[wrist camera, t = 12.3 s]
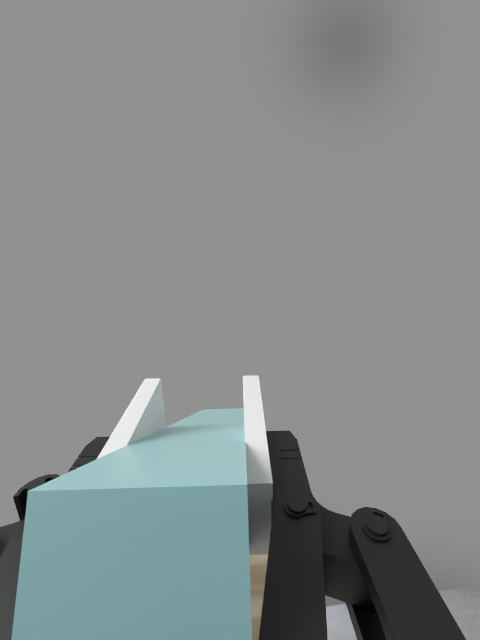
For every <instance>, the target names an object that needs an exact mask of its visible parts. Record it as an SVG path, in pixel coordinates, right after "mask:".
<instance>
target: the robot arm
mask: <svg viewBox="0 0 480 640" xmlns="http://www.w3.org/2000/svg"><path fill="white" fill-rule="evenodd" d="M243 397H244V433H245V443H246V468H247V494H248V525H249V555H258V554H268V560H267V569H266V578H265V587H264V596H263V605H262V614H261V623H260V632H259V640H327V623H326V605H325V595H327V596H329V597H332V598H335V599H338V600H341V601H344V602H346V605H347V608H348V611H349V615H350V618H351V621H352V624H353V627H354V630H355V633H356V637H357V640H466V639H465V637H464V635H463V634H462V632H461V630H460V628H459V627H458V625H457V623H456V622H455V620H454V618H453V616H452V615H451V613H450V611H449V609H448V608H447V606H446V604H445V603H444V601H443V599H442V597H441V596H440V594H439V592H438V590H437V589H436V587H435V585H434V584H433V582H432V580H431V578H430V577H429V575H428V573H427V571H426V570H425V568H424V566H423V565H422V563H421V561H420V560H419V558H418V556H417V554H416V552H415V551H414V549H413V548H412V546H411V544H410V542H409V540H408V539H407V537H406V535H405V533H404V532H403V530H402V528H401V527H400V525H399V524H398V523H397V522H396V520H395V519H394V518H392V517H391V516H389V515H388V514H387V513H386V512H383V511H381V510H379V509H376V508H369V507H364V508H360V509H357V510H356V511H355V512H354V513H353V514H352V516H351V517H349V516H345V515H341V514H338V513H335V512H332V511H329V510H327V509H326V508H324V507H322V506H321V505H320V504H319V503H318V502H317V501H316V500H315V498H314V497H313V495H312V493H311V490H310V486H309V483H308V479H307V475H306V472H305V468H304V464H303V460H302V457H301V453H300V450H299V446H298V442H297V439H296V438H295V437H294V436H293V435H292V433H291V432H290V431H266V429H265V421H264V414H263V407H262V399H261V391H260V383H259V376H243ZM164 428H166V420H165V412H164V404H163V395H162V386H161V379H145V380H144V382H143V383H142V385H141V386H140V388H139V390H138V392H137V393H136V395H135V396H134V398H133V400H132V401H131V403H130V405H129V407H128V408H127V410H126V411H125V413H124V415H123V416H122V418H121V419H120V421H119V423H118V424H117V426H116V428H115V429H114V431H113V433H112V434H111V436H110V437H96V438H95V439H94V440H93V441H92V442H90V443H89V444H88V445H86V446H85V448H84V449H83V451H82V452H81V454H80V455H79V458H78V459H77V460H76V461H75V462H74V464H73V466H72V467H71V468H70V470H69V471H68V472H70V471H72V470H75V469H77V468H79V467H81V466H83V465H85V464H88V463H90V462H92V461H94V460H96V459H98V458H101V457H103V456H105V455H107V454H109V453H111V452H113V451H116V450H118V449H120V448H122V447H124V446H127V445H129V444H131V443H134V442H136V441H138V440H140V439H142V438H144V437H146V436H149V435H151V434H153V433H155V432H157V431H159V430H161V429H164ZM68 472H67V473H68ZM59 476H60V475H57V474H54V475H45V476H42V477H39V478H36V479H34V480H32V481H31V482H28V483H27V484H26V485H24V486H23V487H22V488H20V489H19V490H18V492H17V493H16V494H15V495H14V497H13V498H14V502H15V505H16V508H17V511H18V514H19V518H20V521H19V522H16V523H13V524H10V525H6V526H3V527H0V640H11V638H12V629H13V620H14V611H15V602H16V594H17V585H18V576H19V567H20V558H21V549H22V540H23V531H24V522H25V514H26V505H27V496H28V491H29V490H31V489H34V488H36V487H38V486H40V485H42V484H44V483H47V482H49V481H51V480H53V479H55V478H57V477H59Z"/></svg>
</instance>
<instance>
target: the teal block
mask: <svg viewBox="0 0 480 640" xmlns="http://www.w3.org/2000/svg"><path fill="white" fill-rule="evenodd" d="M11 640H252V619H251V588H250V556H249V525H248V494H247V468H246V443H245V433H244V408H241V409H209V410H208V409H207V410H202V411H200V412H198V413H196V414H193V415H191V416H189V417H187V418H185V419H183V420H180V421H178V422H176V423H174V424H172V425H170V426H168V427H166V428H164V429H161V430H159V431H157V432H155V433H153V434H151V435H149V436H146V437H144V438H142V439H140V440H138V441H136V442H134V443H131V444H129V445H127V446H124V447H122V448H120V449H118V450H116V451H113V452H111V453H109V454H107V455H105V456H103V457H101V458H98V459H96V460H94V461H92V462H90V463H88V464H85V465H83V466H81V467H79V468H77V469H75V470H72V471H70V472H68V473H66V474H64V475H62V476H59V477H57V478H55V479H53V480H51V481H49V482H47V483H44V484H42V485H40V486H38V487H36V488H34V489H31V490H29V491H28V496H27V505H26V514H25V522H24V531H23V540H22V549H21V558H20V567H19V576H18V585H17V594H16V602H15V611H14V620H13V629H12V638H11Z"/></svg>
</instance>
